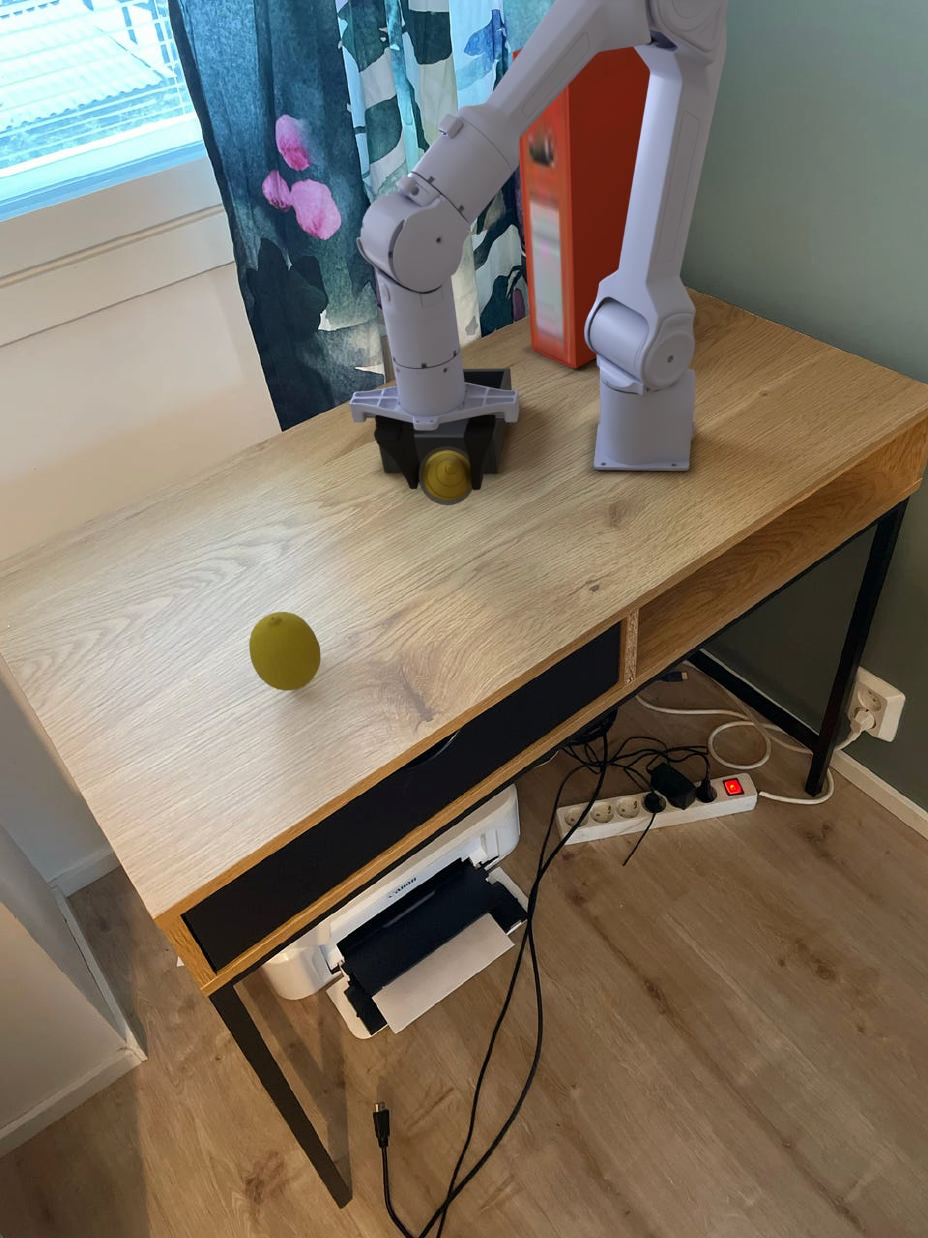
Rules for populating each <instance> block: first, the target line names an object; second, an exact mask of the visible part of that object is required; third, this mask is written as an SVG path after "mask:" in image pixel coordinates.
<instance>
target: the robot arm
mask: <svg viewBox="0 0 928 1238" xmlns="http://www.w3.org/2000/svg"><path fill="white" fill-rule="evenodd" d="M729 1H730V0H554V2H553V3H552V5H551V6H550V7H549V9H548V11H547V12H546V14H545V15H544V16H543V18H542V19H541V20H540V22H539V24H537V26H536V28H535V29H534V31H533V33H532V34H531V35H530V37H529V38H528V40H527V41H526V43H525V44H524V45H523V47H522V48H521V49H522V50H521V52H520V53H519V54H518V56H517V57H516V59H515V60H514V62H513V61H512V63H511V65H509V68H508V69H507V71H506V72H505V74H504V75H503V76H502V77H501V79H500V81H499V82H498V83H497V85H496V86H495V88H494V89H493V91H492V92H491V94H490V95H489V97H488V98H487V100H486V101H485V102H484V103H481V104H474V105H473V104H472V105H464V106H461V107H460V108H458V110H457V111H456V113H455V114H454V115H452V114H450V113H446V114H445V116H444V117H443V118H442V120H441V121H440V123H439V124H438V125H437V130H438V131H439V134H438V136H437V137H436V138H435V140H434V141H433V142H432V144H431V145H430V146H429V147H428V149H427V150H426V152H425V153H424V154H423V155H422V156H421V158H420V159H419V160H418V162H417V163H416V164H415V165H414V167H413V168H412V169H411V171H410V172H409V173H408V174H406V173H405V174H403V175H402V176H401V178H400V179H399V180H398V182H397V183H396V187H397V191H390V192H387V195H385V194H382V195H381V196H379V197H378V198H376V199H375V200H374V201H373V202H372V203H371V204H370V206H368V209H367V210H366V212H365V214H364V216H363V219H362V225H361V228H360V236H359V237H357V238H356V245H357V248H358V250H359V253H360V254H361V256H362V257H363V258H364V259H365V261H367V262H368V263H369V264H370V265H372V266H373V268H374V269H375V273H376V279H377V285H378V290H379V295H380V300H381V309H382V315H383V320H384V325H385V331H386V335H387V341H388V347H389V352H390V356H391V363H392V367H393V372H394V379H395V384H396V385H393V386H388V387H382V388H377V389H373V390H372V389H371V390H364V391H354V393H353V394H352V397H351V399H350V402H349V410H350V413H351V418H352V422H353V423H365V422H366V421H367V419H374V421H375V429H374V432H373V437H374V440H375V442H376V444H377V445H378V446H379V445H380V446H381V447H382V448H383V449H384V450H385V451H386V452H387V453H388V454H389V455H390V456H391V457H392V458H393V460H394V461H395V462H396V464H397V465H398V467H399V468H400V470H401V472H402V473H401V474H402V475H403V477H404V479H405V481H406V483H407V486H408V487H409V489H410V490H418V487H419V485H420V483H419V468H420V463H419V458H418V454H417V449H416V445H415V437H414V429H415V430H435V429H437V428H438V426H439V424H441V423H446V422H450V421H455V420H460V419H465V418H469V419H468V423H467V425H466V428H465V432H464V436H463V439H464V443H465V446H466V449H467V453H468V457H469V462H470V471H471V485H472V489H473V490H472V491H480V490H481V489H482V486H483V480H484V474H483V468H484V459H485V455H486V452H487V450H488V447H489V445H490V443H491V441H492V438H493V435H494V431H495V427H496V422H497V418H504V420H505V422H509V423H517V422H518V419H519V416H520V415H519V414H520V399H519V397H520V396H519V395H520V394H519V390H517V389H516V390H513V389H512V390H501V389H495V388H490V387H486V386H481V385H476V384H471V383H466V382H464V374H463V369H464V367H463V366H464V365H463V359H462V358H463V357H462V350H461V344H460V343H461V342H460V335H459V326H458V320H457V311H456V302H455V295H454V289H453V288H454V287H453V280H452V276H454V275H455V274H456V273H457V271H458V269H459V267H460V264H461V261H462V258H463V255H464V254H463V253H464V245H465V241H466V240H467V237H469V235H470V232H469V231H470V229H471V227H472V225H473V224H474V222H475V221H476V220H477V218H478V217H479V216H480V215H481V214H482V212H483V211H484V210H485V208H487V206H488V205H489V203H490V202H492V200H493V199H494V197H495V196H496V195H497V193H498V192H499V191H500V190H501V188H502V187H503V186H504V185H505V183H506V182H507V181H508V180H509V179H510V178H511V176H512V175H513V173H515V171H516V170H517V168H518V167H519V166H520V159H519V142H520V137H521V136H522V135H523V134H524V133H525V132H526V131H527V130H528V129H529V127H530V126H531V125H532V124H533V123H534V122H535V121H536V120H537V119H538V117H539V116H540V115H541V114H542V113H543V112H544V111H545V110H546V109H547V107H548V106H549V105H550V104H551V103H552V102H553V101H554V100H555V99H556V98H557V96H558V95H559V94H560V93H561V92H562V91H563V90H564V89H565V88H566V86H567V85H568V84H569V83H570V82H571V81H572V80H573V79H574V78H575V76H576V75H577V74H578V73H579V72H580V71H581V70H582V69H583V68H584V67H585V65H586V64H587V63H588V62H589V61H590V60H591V59H592V58H593V57H594V55H596V54H597V53H598V52H601V51H607V50H614V49H620V48H627V47H634V48H635V50H636V51H637V52H638V54H639V55H640V56H641V58H642V59H643V61H644V62H645V63H646V65H647V66H648V68H649V70H650V80H649V86H648V92H647V98H646V104H645V110H644V116H643V123H642V129H641V135H640V141H639V147H638V153H637V159H636V165H635V172H634V178H633V184H632V190H631V196H630V202H629V208H628V215H627V221H626V227H625V233H624V239H623V245H622V251H621V257H620V264H619V269H618V270H617V271H616V272H614V273H613V274H611V275H609V276H608V277H606V278H605V279H603V280H602V281H601V282H600V283H599V289H598V294H597V298H596V301H595V304H594V306H593V308H592V309H591V311H590V313H589V315H588V318H587V320H586V324H585V330H584V335H585V341H586V343H587V345H588V347H589V348H590V349H591V350H592V351H593V352H595V353H596V354H597V357H596V366H597V367H598V368H599V423H598V424H597V431H596V439H595V450H594V459H593V469H594V470H596V471H653V472H654V471H662V472H663V471H664V472H666V471H669V472H687V471H688V470H690V458H691V447H692V440H694V439H695V421H694V413H695V400H696V370H695V369H691V368H688V367H689V366H690V364H691V362H692V359H693V357H694V354H695V347H696V339H695V334H694V322H695V316H696V311H697V310H696V307H695V305H694V302H693V301H692V299H691V297H690V295H689V293H688V291H687V289H686V287H685V285H684V283H683V281H682V278H681V276H680V275H681V270H682V266H683V262H684V256H685V251H686V246H687V242H688V237H689V232H690V228H691V222H692V217H693V214H694V213H693V212H694V210H695V209H694V208H695V203H696V198H697V194H698V189H699V184H700V179H701V174H702V169H703V165H704V159H705V156H706V150H707V146H708V141H709V136H710V131H711V126H712V121H713V117H714V111H715V107H716V102H717V98H718V94H719V93H718V92H719V88H720V83H721V78H722V73H723V69H724V63H725V58H726V54H727V46H728V45H727V44H728V43H727V41H728V40H727V38H728V37H727V21H726V17H727V11H728V5H729ZM413 425H414V427H413Z"/></svg>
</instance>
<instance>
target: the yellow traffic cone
mask: <svg viewBox="0 0 928 1238" xmlns="http://www.w3.org/2000/svg"><path fill="white" fill-rule="evenodd" d="M419 486H420V489H421V491H422V492H423V494H424V495H425V496H426V497H427V498H428V499H429V500H430V501H431V502H433V503H436V504H439V505H441V506H452V505H453V506H454V505H457V504H459V503H461V502H463V501H464V500H466V499H467V498H468V497H469V496H470V495H471V493H472V492H473V491H474V490H473V489H472V485H471V471H470V462H469V457H468V454H466V453H465V452H464V451H462V450H460V449H458V448H455V447H450V446H445V447H439V448H436V449H434V450H432V451H431V452H430V453H428V454H427V455H426V456H425V458H424V459H423V461H422V463H421V465H420V468H419Z"/></svg>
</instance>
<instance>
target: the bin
mask: <svg viewBox="0 0 928 1238" xmlns="http://www.w3.org/2000/svg"><path fill="white" fill-rule="evenodd" d="M463 374H464V382H466V383H471V384H476V385H481V386H486V387H490V388H495V389H501V390H513V389H512V387H513V386H512V375H511V374H512V373H511V368H510V367H509V368H508V367H507V368H506V367H505V368H463ZM468 419H469V418H465V419H460V420H455V421H450V422H446V423H441V424H439V426H438V428H437V429H435V430H415V429H414V437H415V445H416V449H417V454H418V458H419V463H420V465H421V463H422V461H423V459H424V458H425V456H426V455H427V454H428V453H430V452H431V451H432V450H434V449H436V448H439V447H445V446H450V447H455V448H458V449H460V450H462V451H464V452H465V453H466V454H468V453H467V449H466V446H465V443H464V439H463V436H464V432H465V428H466V425H467V423H468ZM509 423H510V422H505V420H504V418H497V422H496V427H495V431H494V435H493V438H492V441H491V443H490V445H489V447H488V450H487V452H486V455H485V459H484V468H483V475H485V474H487V475H488V474H489V475H490V474H491V475H497V474H498V472H499V466H500V463H501V459H502V453H503V449H504V445H505V440H506V437H507V431H508V426H509ZM413 427H414V425H413ZM378 449H379V452H380V458H381V464H382V468H383V472H384V473H401V474H403V473H402V472H401V470H400V468H399V467H398V465H397V464H396V462H395V461H394V460H393V458H392V457H391V456H390V455H389V454H388V453H387V452H386V451H385V450H384V449H383V448H382V447H381V446H380V445H379V444H378Z"/></svg>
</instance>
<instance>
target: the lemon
mask: <svg viewBox="0 0 928 1238" xmlns="http://www.w3.org/2000/svg"><path fill="white" fill-rule="evenodd" d="M248 647H249V648H248V649H249V656H250V661H251V665H252V666H253V668H254V670H255V672H256V674H257V676H259V678H260V679H261V680H262V681H263V682H264V683H265V684H266V685H268V686H269V687H272V688H273V689H275V690H281V691H287V692H288V691H295V690H299V689H301V688H304V687H305V686H307V685H308V684H310V683H311V681H313V679H314V678H315V677H316V675H317V673H318V671H319V668H320V666H321V646H320V643H319V640H318V638H317V636H316V634H315V632H314V630H313V629H312V627H311V626H310V625H309V624H308V622H307V621H305V619H304V618H302V617H301V616H299V615H297V614H295V613H292V612H288V611H277V612H273V613H269V614H267V615H265V616H263V617H262V618H261V619H259V621H258V622H257V623H256V624H255V625H254V627H253V629H252V631H251V632H250V638H249V644H248Z"/></svg>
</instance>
